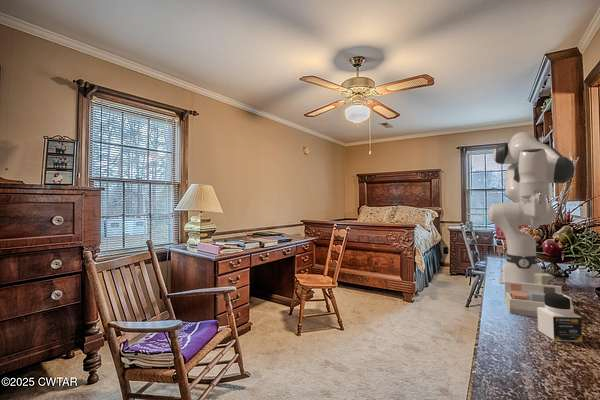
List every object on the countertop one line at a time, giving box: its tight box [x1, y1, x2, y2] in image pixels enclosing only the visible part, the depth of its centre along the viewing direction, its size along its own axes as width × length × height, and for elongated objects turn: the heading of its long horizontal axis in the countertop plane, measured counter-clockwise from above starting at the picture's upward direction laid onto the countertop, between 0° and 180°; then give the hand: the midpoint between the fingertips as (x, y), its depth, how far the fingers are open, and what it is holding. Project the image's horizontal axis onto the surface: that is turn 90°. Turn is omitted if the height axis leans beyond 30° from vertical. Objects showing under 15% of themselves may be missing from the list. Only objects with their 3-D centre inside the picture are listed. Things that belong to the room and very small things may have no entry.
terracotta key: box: [512, 292, 528, 301], centre depth 106 cm, size 5×4×2 cm
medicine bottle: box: [537, 293, 583, 343], centre depth 86 cm, size 7×7×12 cm
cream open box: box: [503, 281, 575, 318], centre depth 106 cm, size 14×17×8 cm
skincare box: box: [534, 272, 555, 286], centre depth 118 cm, size 5×4×10 cm
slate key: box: [529, 290, 545, 302], centre depth 104 cm, size 5×4×2 cm
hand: (535, 228), depth 111 cm, fingers closed
